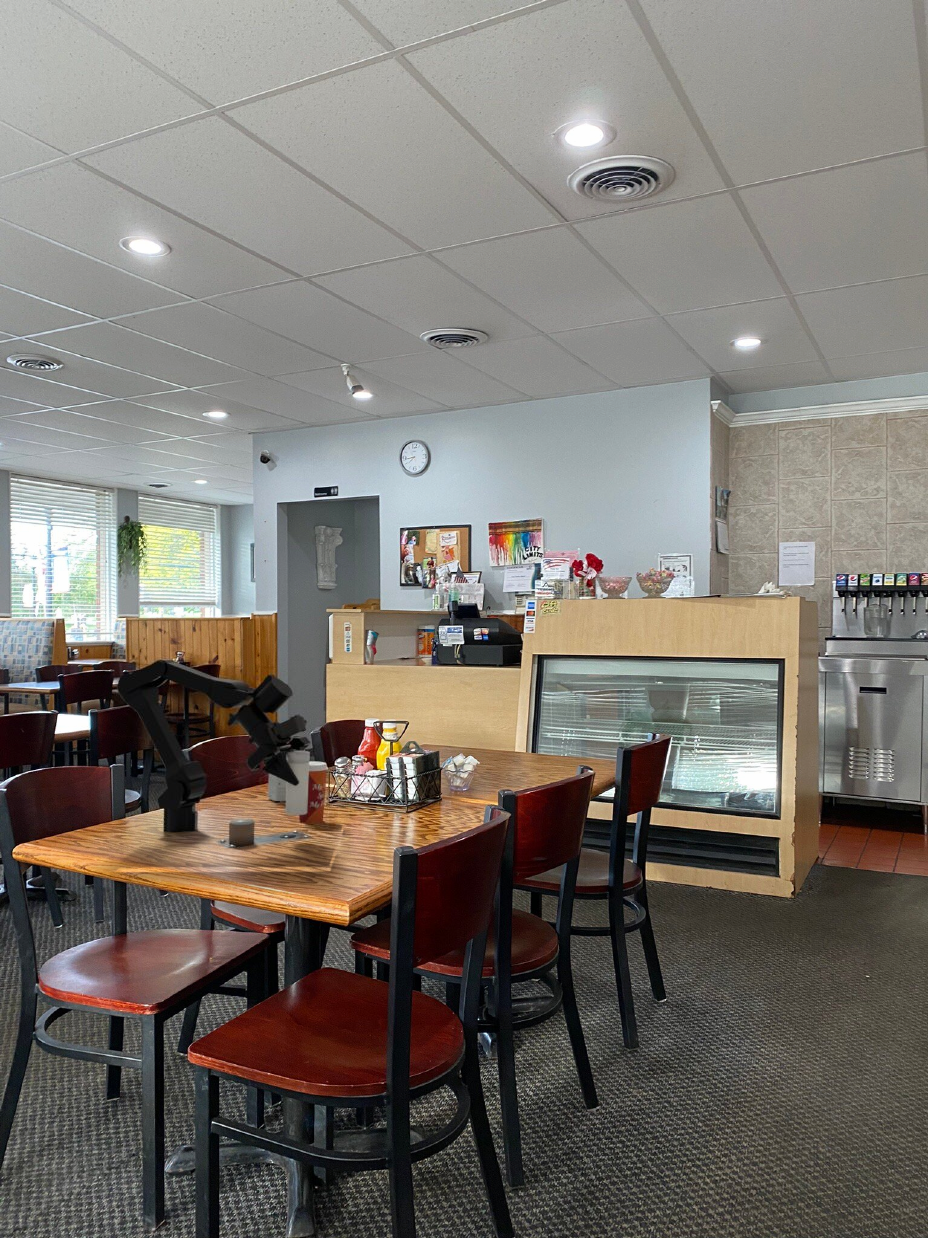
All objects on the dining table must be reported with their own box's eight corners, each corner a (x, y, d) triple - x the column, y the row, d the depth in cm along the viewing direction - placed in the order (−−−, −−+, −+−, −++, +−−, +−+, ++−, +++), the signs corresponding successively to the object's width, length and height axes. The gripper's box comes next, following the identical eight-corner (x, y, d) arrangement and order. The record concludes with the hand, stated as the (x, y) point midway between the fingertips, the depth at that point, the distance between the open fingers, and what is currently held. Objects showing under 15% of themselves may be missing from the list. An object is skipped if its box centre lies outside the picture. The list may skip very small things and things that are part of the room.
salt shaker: (284, 815, 189) (287, 753, 189) (285, 810, 193) (287, 750, 193) (307, 815, 189) (309, 753, 190) (307, 810, 194) (309, 750, 194)
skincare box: (276, 802, 239) (277, 746, 239) (267, 799, 244) (268, 744, 244) (304, 799, 244) (305, 745, 244) (295, 796, 249) (296, 742, 249)
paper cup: (320, 825, 210) (321, 766, 210) (289, 824, 211) (291, 764, 212) (332, 819, 218) (333, 761, 218) (302, 817, 219) (303, 760, 219)
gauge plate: (228, 852, 183) (229, 847, 183) (215, 845, 189) (215, 839, 189) (313, 841, 194) (313, 836, 194) (298, 834, 200) (298, 829, 200)
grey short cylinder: (226, 845, 186) (226, 823, 186) (231, 839, 191) (231, 818, 191) (251, 845, 186) (252, 823, 186) (256, 839, 191) (256, 818, 191)
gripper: (261, 706, 184) (307, 763, 180) (304, 700, 202) (347, 753, 198) (226, 741, 186) (271, 799, 183) (272, 733, 204) (313, 785, 200)
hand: (303, 782), depth 191 cm, fingers closed on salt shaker, 5 cm apart
